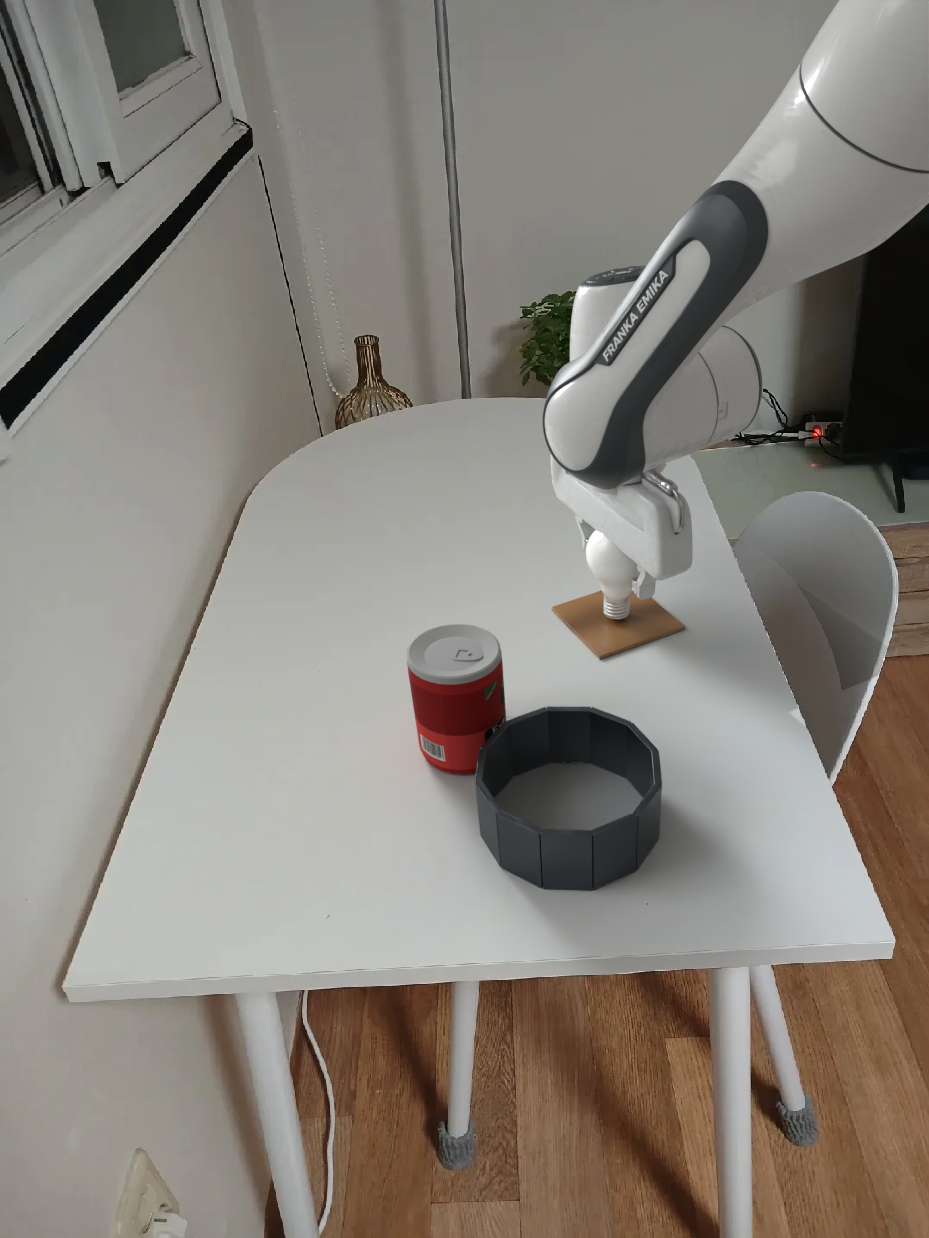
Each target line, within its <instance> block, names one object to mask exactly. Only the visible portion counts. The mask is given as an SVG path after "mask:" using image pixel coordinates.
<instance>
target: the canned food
mask: <svg viewBox="0 0 929 1238" xmlns="http://www.w3.org/2000/svg"><path fill="white" fill-rule="evenodd" d="M406 664H407V675H408V680H409V687H410V693H411V699H412V707H413V713H414V719H415V726H416V727H415V728H416V733H417V739H418V747H419V750H420V752H421V754H422V755H423V757H424V759H425V760H426V762H427V763H428V764H429V765H430V766H431V767H432V768H434V769H436V770H438V771H441V772H443V773H447V774H450V775H472V774H476V768H477V761H478V753H479V749H480V747H481V746H482V745H483V744H484V743H485V742H486V741H487V740H488V739H489V738H490V737H491V736H492V735H493V734H494V733H495V732H496V731H497V729H498V728H499V727H500V726H501V725H502V724H503V723H504V722H506V721H507V712H506V711H507V710H506V697H505V695H506V694H505V680H504V679H505V678H504V667H503V656H502V649H501V643H500V642H499V639H498V638H497V637H496V636H495V635H494V633H492V632H491V631H489V630H487V629H484V628H483V627H479V626H476V625H472V624H467V623H466V624H464V623H451V624H445V625H439V626H436V627H432V628H429V629H428V630H425V631H423V632H421V633H420V634H418V635H416V637H414V638H413V640H412V641H411V642H410V643H409V644H408V647H407V650H406Z"/></svg>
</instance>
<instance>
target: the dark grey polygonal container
mask: <svg viewBox="0 0 929 1238" xmlns="http://www.w3.org/2000/svg"><path fill="white" fill-rule="evenodd" d="M547 764H591V765H592V766H595V767H597V768H600V769H603V770H605V771H607V772H610V773H612V774H614V775H617V776H620V777H622V778H625V779H626V780H627V781H628V782H629V784H631V786H632V787H633V788H634V789H635V790H636V792H637V793H638V795H640V796H641V797H642V799H641V800H640V802H639V803H638V804H637V805H636V807H635V809H634V810H633V811H632V812H631V813H628V814H626V815H624V816H621V817H619V818H616V819H613V820H612V821H609V822H606V823H605V824H602V825H599V826H597V827H595V828H592V829H566V828H564V829H563V828H541V827H539V826H537V825H535V824H533V823H531V822H528V821H526V820H524V819H522V818H520V817H518V816H516V815H513V814H511V813H510V812H507V811H505V810H503V809H502V808H501V806H500V804H499V803H498V801H496V799H495V798H496V797H497V796H498V795H499V794H500V792H502V790H503V789H504V788H505V787H506V786H507V785H508V784H509V782H510V781H511V780H512V779H513V778H514V777H516V776H519V775H522V774H524V773H528V772H529V771H532V770H534V769H537V768H540V767H542V766H545V765H547ZM662 779H663V778H662V769H661V757H660V750H659V749H658V748H657V747H656V746H655V745H654V744H653V743H652V741H651V740H650V739H649V738H648V737H647V736H646V735H645V734H644V733H643V732H642V731H641V730H640V728H639V727H638V726H637V725H636V724H635V723H634V722H632V721H631V720H629V719H626V718H623V717H620V716H618V715H615V714H612V713H611V712H607V711H604V710H602V709H599V708H596V707H594V706H551V705H549V706H543V707H541V708H538V709H535V710H533V711H529V712H526V713H524V714H521V715H519V716H516V717H513V718H510V719H506V722H504V723H503V724H502V725H501V726H500V727H499V728H498V729H497V731H496V732H495V733H494V734H493V735H492V736H491V737H490V738H489V739H488V740H487V741H486V742H485V743H484V744H483V745H482V746H481V747H480V749H479V753H478V761H477V768H476V773H475V776H474V786H475V787H474V788H475V797H476V798H475V799H476V806H477V807H476V808H477V817H478V826H479V834H480V838H481V839H482V840H483V842H484V843H485V845H486V847H487V848H488V850H489V852H490V853H491V856H492V857H493V858H494V860H495V861H496V863H497V864H498V866H499V867H500V868H501V869H502V870H504V871H506V872H507V873H510V874H512V875H513V876H515V877H518V878H520V879H521V880H524V881H525V882H527V883H530V884H532V885H534V886H536V887H537V888H540V889H543V890H563V891H596V890H598V889H600V888H602V887H604V886H607V885H609V884H611V883H613V882H616V881H618V880H620V879H623V878H625V877H627V876H630V875H632V874H634V873H636V872H637V871H638V870H639V869H640V867H641V866H642V864H643V863H644V861H645V860H646V859H647V857H648V856H649V854H650V853H651V851H652V850H653V849H654V847H655V846H656V845H657V843H658V841H659V839H660V831H661V830H660V828H661V811H662V810H661V809H662V795H663V794H662V792H663V780H662Z"/></svg>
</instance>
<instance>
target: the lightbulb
mask: <svg viewBox="0 0 929 1238" xmlns="http://www.w3.org/2000/svg"><path fill="white" fill-rule="evenodd" d="M585 559H586V564H587V567H588V568H589V570H590V572H591V573H592V575H593V576H594V577H595V578H596V579H597V580H598V582H599V586H600V591H601V590H602V592H603V594H604V610H603V612H604V614H605V616H607V617H608V618H611V619H623V618H625V617H627V616H628V615H629V610H630V608H629V607H630V594H631V593H632V591H631V588H632V585H631V582H632V579H633V578H636V577H639V575H640V573H641V572H639V571H638V570H637V564H636V563H635V562H634V561H633V560H631V559H630V558H629V557H628V556H627V555H625V554H624V553H623V552H622V551H620V550H619V549H618V548H617V547H616V546H614V545H613V544H612V543H611V542H610V541H609V540H608V539H607V538H606V537H605V536H604V535H603V534H602V533H601V532H599V531H596V530H595V531H594V532H593V533H592V535H591V536H590V538H589V540H588V543H587V546H586V552H585Z"/></svg>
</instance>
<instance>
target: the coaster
mask: <svg viewBox="0 0 929 1238" xmlns="http://www.w3.org/2000/svg"><path fill="white" fill-rule="evenodd" d="M629 608H630V610H629V615H628V616H627V617H625V618H623V619H611V618H608V617H607V616H605V614H604V612H603V610H604V594H603V592H602V590H601V589H600V590H599V591H596V592H593V593H590V594H586V595H583V596H580V597H578V598H574V599H571V600H569V601H566V602H562V603H560V604H557V605H556V604H555V605H553V606H551V607H550V610H551V611H552V612H553V613H554V614H555V616H557V618H559V619H560V620H561V622H563V624H564V625H565V626H566V627H567V628H568V629H569V630H570V631H571V632H572V633H573V634H574V635H575V636H576V637H577V638H578V639H579V640H580V641H581V642H582V643H583V644H584V645H585V646H586V647H587V648H588V649H589V650H590V651H591V652H592V653H593V654H594V656H595V657H597V658H598V660H601V659H604V658H607V657H610V656H613V655H616V654H618V653H621V652H625V651H627V650H630V649H633V648H635V647H638V646H641V645H644V644H647V643H650V642H652V641H655V640H658V639H660V638H664V637H666V636H669V635H672V634H675V633H678V632H681V631H683V630H685V625H683V623H681V622H680V621H679V620H678V619H677V618H675V616H673V615H672V614H671V613H669V611H667V610H666V609H665V608H664V607H663V606H662V605H660V603H658V602H657V601H656V600H654V599H653V597H650V598H647V599H644V600H640V599H639V598H638V597H637V596H636V595H635V594H633V593H631V594H630V607H629Z"/></svg>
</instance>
